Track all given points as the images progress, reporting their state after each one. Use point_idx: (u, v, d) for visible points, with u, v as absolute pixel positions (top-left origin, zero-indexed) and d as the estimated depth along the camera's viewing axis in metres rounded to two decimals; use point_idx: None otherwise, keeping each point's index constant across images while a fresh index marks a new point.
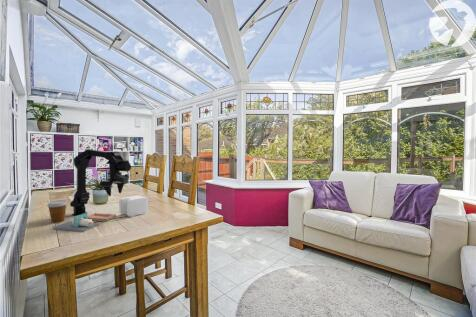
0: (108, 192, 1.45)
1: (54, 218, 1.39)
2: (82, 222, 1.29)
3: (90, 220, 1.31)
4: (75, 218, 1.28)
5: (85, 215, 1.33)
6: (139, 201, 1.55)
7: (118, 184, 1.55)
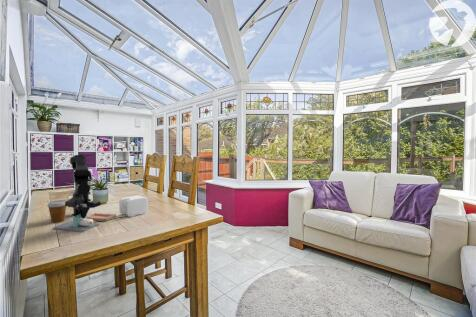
0: None
1: (54, 218, 1.39)
2: (83, 221, 1.30)
3: (91, 220, 1.32)
4: (74, 218, 1.28)
5: None
6: (139, 201, 1.55)
7: None
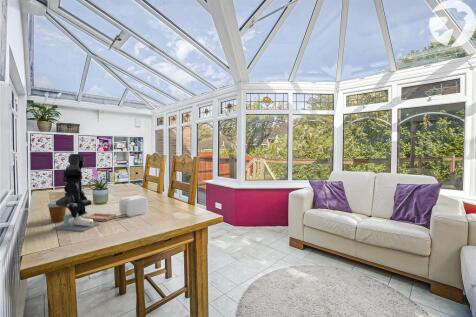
0: None
1: (54, 218, 1.39)
2: (83, 221, 1.30)
3: (91, 220, 1.32)
4: (65, 217, 1.29)
5: None
6: (139, 201, 1.55)
7: None
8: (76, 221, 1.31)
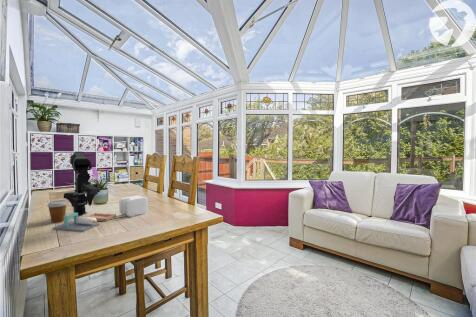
0: (74, 205, 1.25)
1: (54, 218, 1.39)
2: (89, 217, 1.34)
3: None
4: (65, 217, 1.29)
5: (75, 214, 1.35)
6: (139, 201, 1.55)
7: (88, 195, 1.35)
8: (82, 217, 1.35)
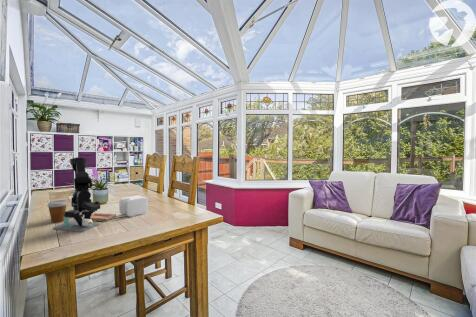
0: (78, 222, 1.28)
1: (54, 218, 1.39)
2: (82, 221, 1.29)
3: (90, 220, 1.31)
4: (65, 217, 1.29)
5: None
6: (139, 201, 1.55)
7: (85, 213, 1.34)
8: (75, 221, 1.30)
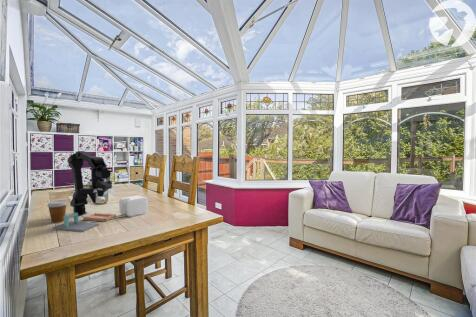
0: (93, 199, 1.42)
1: (54, 218, 1.39)
2: (96, 198, 1.43)
3: (103, 198, 1.45)
4: (65, 217, 1.29)
5: (75, 214, 1.35)
6: (139, 201, 1.55)
7: (98, 191, 1.48)
8: (90, 198, 1.44)
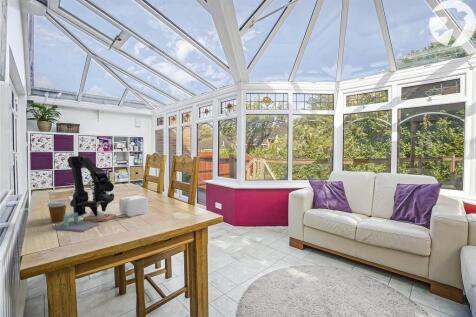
0: (94, 212, 1.44)
1: (54, 218, 1.39)
2: (99, 213, 1.46)
3: (106, 212, 1.48)
4: (65, 217, 1.29)
5: (75, 214, 1.35)
6: (139, 201, 1.55)
7: (102, 204, 1.51)
8: (93, 213, 1.47)
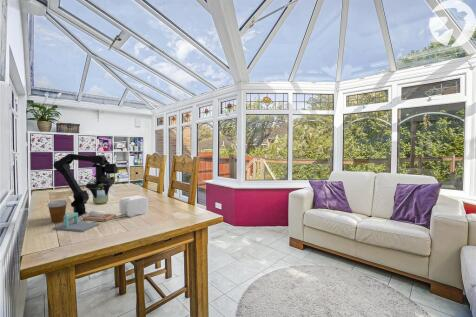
0: (94, 194, 1.52)
1: (54, 218, 1.39)
2: (99, 213, 1.46)
3: (106, 212, 1.48)
4: (65, 217, 1.29)
5: (75, 214, 1.35)
6: (139, 201, 1.55)
7: (104, 186, 1.62)
8: (93, 213, 1.47)
